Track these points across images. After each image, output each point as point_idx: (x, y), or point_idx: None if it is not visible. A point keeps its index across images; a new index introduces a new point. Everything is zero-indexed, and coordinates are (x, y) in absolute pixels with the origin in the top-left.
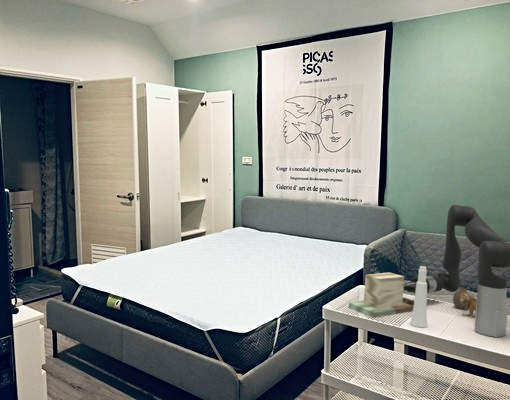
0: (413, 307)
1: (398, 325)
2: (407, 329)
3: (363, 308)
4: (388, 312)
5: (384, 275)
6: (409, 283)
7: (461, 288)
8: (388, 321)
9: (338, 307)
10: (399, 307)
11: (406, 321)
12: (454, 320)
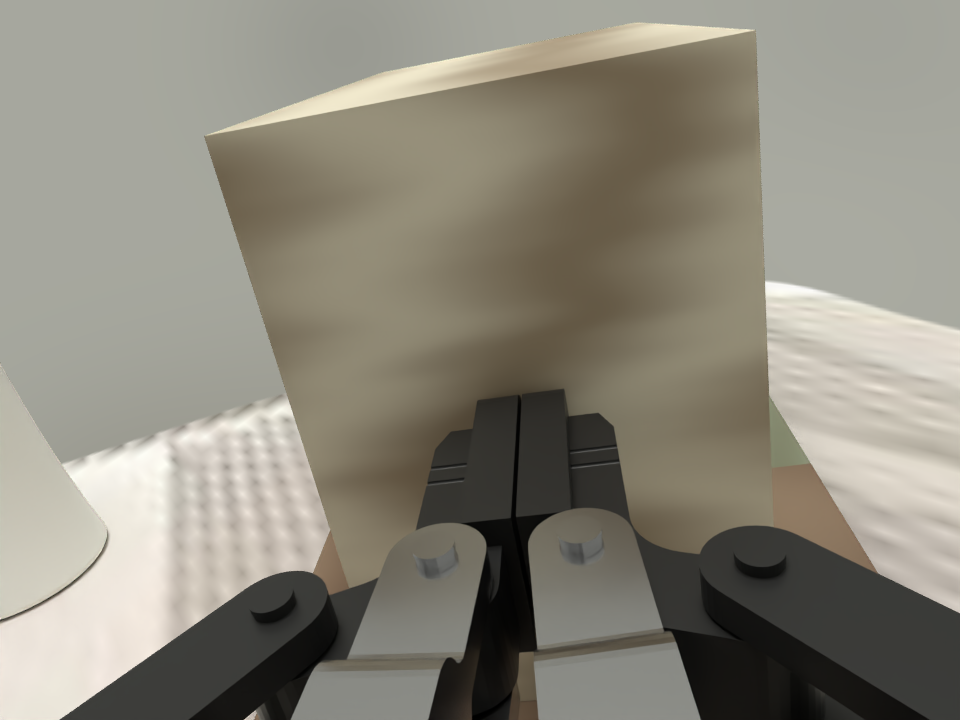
0: (17, 393)
1: (182, 448)
2: (97, 456)
3: None
4: None
5: (502, 57)
6: (365, 718)
7: None
8: (282, 435)
9: None
10: (341, 589)
11: (156, 536)
12: None
